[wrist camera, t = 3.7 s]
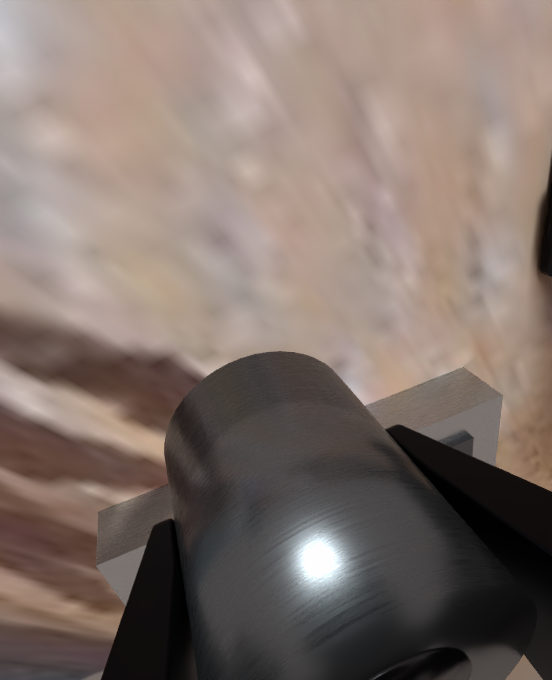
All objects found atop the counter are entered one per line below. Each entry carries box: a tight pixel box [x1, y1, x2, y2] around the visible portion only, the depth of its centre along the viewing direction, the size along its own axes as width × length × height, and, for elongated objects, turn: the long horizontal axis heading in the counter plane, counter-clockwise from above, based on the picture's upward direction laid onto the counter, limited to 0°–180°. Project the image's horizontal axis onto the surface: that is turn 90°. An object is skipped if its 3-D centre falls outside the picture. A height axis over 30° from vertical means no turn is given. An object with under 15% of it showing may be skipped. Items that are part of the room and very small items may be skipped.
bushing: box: [164, 351, 537, 680], centre depth 8 cm, size 5×5×6 cm
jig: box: [96, 367, 503, 606], centre depth 21 cm, size 18×13×3 cm
